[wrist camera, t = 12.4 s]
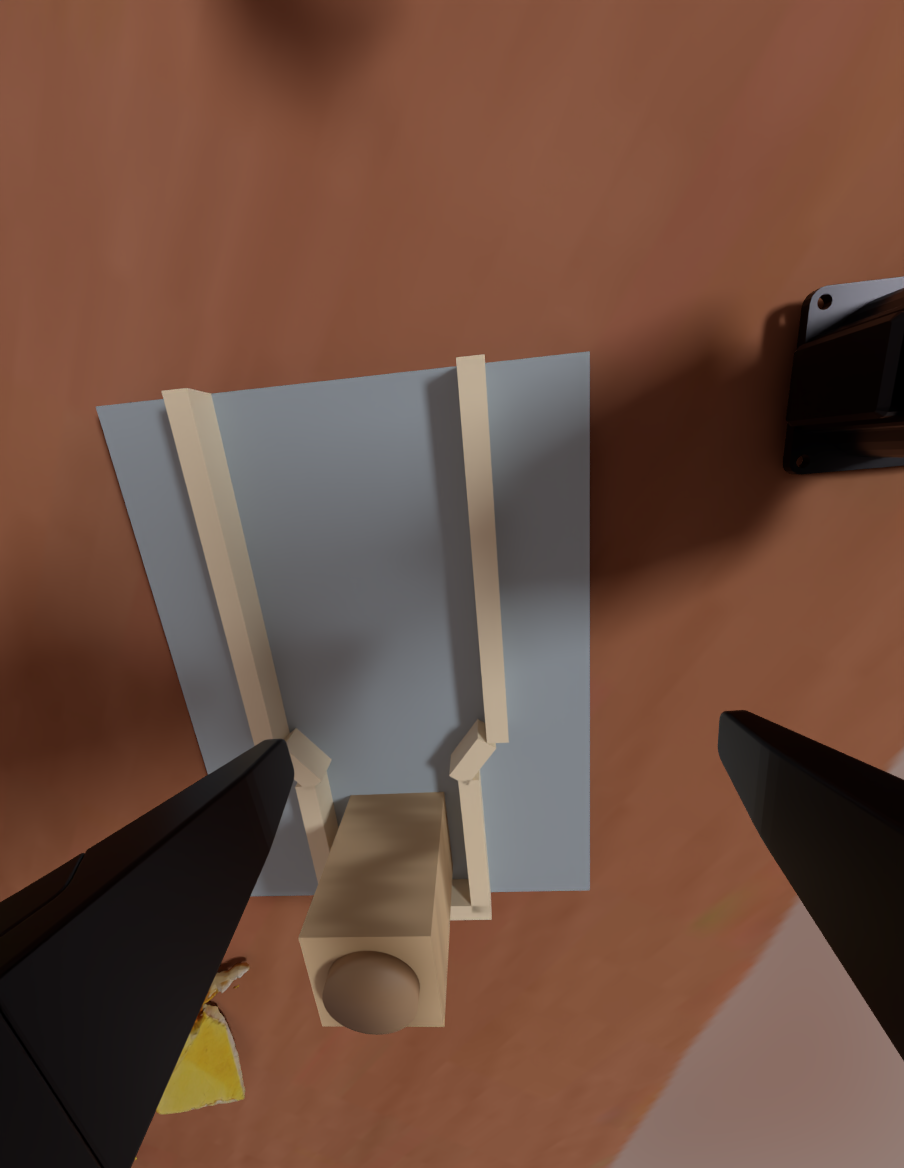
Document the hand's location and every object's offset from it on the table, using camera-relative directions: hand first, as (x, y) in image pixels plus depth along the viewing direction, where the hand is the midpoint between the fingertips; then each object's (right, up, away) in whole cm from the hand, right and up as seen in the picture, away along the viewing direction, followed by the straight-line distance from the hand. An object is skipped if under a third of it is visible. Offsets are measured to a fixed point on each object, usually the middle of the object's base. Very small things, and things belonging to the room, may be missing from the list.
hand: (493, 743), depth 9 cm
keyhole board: (-4, -1, +13) cm, 13 cm away
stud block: (-4, -10, +14) cm, 18 cm away
